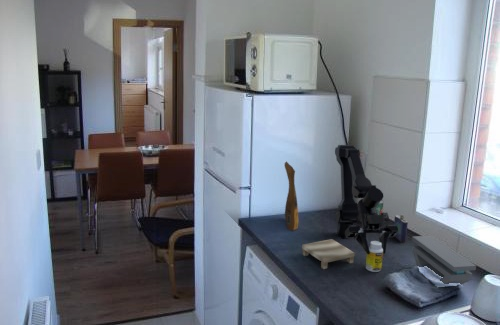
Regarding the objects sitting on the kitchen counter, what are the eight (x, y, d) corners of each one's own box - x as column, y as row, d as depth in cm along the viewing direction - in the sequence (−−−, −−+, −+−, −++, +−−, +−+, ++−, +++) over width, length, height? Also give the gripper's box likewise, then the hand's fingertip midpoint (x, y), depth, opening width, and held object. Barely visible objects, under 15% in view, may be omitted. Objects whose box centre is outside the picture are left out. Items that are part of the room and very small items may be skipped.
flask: (391, 234, 197) (394, 211, 195) (397, 234, 198) (400, 210, 195) (401, 242, 188) (404, 218, 186) (408, 242, 189) (411, 218, 186)
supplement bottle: (374, 274, 160) (376, 247, 158) (362, 267, 164) (364, 241, 162) (384, 270, 163) (387, 243, 161) (372, 264, 167) (375, 238, 165)
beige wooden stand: (301, 254, 174) (302, 244, 173) (331, 248, 180) (331, 239, 179) (323, 269, 162) (324, 259, 161) (354, 262, 168) (355, 252, 167)
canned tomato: (360, 221, 212) (362, 198, 210) (373, 219, 216) (375, 197, 213) (371, 226, 205) (373, 203, 203) (384, 224, 209) (387, 202, 206)
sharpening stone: (471, 296, 147) (476, 265, 144) (449, 298, 145) (454, 267, 143) (428, 262, 171) (431, 235, 168) (409, 263, 169) (412, 236, 167)
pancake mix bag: (283, 232, 196) (287, 169, 189) (281, 216, 214) (284, 159, 208) (299, 232, 196) (303, 169, 189) (295, 217, 214) (299, 159, 208)
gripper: (350, 204, 161) (358, 246, 153) (400, 203, 163) (410, 244, 155) (341, 217, 170) (348, 257, 162) (388, 216, 173) (398, 256, 165)
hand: (376, 253), depth 161 cm, fingers closed on supplement bottle, 5 cm apart
